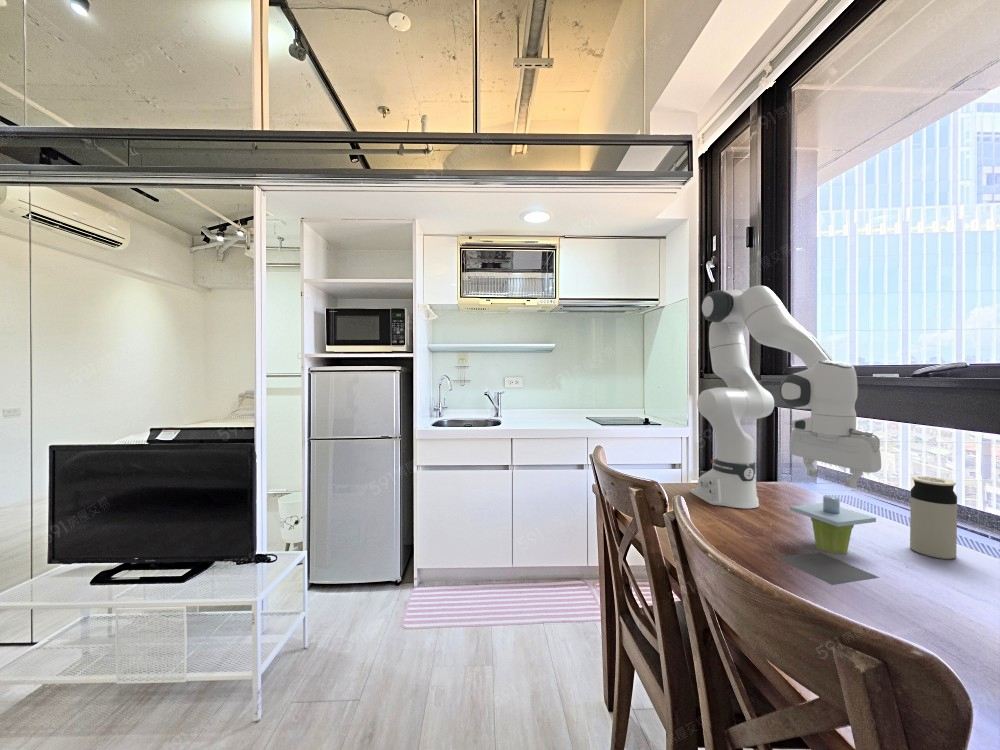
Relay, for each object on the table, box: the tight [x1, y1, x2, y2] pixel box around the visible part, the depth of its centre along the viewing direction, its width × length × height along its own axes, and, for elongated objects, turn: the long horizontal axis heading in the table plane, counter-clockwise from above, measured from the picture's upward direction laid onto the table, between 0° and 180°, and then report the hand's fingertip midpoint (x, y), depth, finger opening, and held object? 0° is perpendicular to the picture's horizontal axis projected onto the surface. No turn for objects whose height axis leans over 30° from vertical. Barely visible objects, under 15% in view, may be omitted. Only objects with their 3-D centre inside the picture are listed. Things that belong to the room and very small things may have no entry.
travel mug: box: [909, 475, 958, 560], centre depth 104 cm, size 8×8×18 cm
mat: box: [777, 551, 880, 586], centre depth 95 cm, size 13×13×1 cm
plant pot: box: [810, 517, 855, 555], centre depth 105 cm, size 9×9×9 cm
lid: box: [789, 495, 877, 527], centre depth 105 cm, size 12×12×4 cm
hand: (830, 481), depth 105 cm, fingers open, 8 cm apart
